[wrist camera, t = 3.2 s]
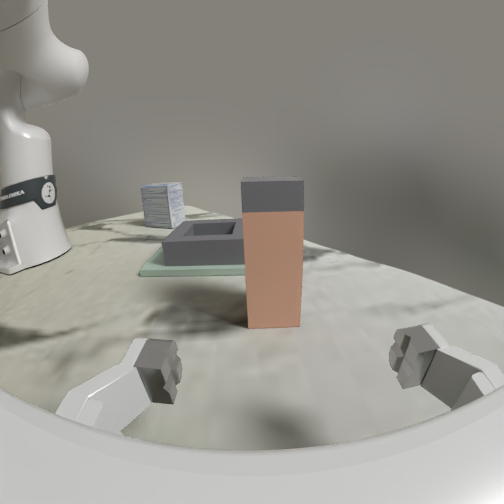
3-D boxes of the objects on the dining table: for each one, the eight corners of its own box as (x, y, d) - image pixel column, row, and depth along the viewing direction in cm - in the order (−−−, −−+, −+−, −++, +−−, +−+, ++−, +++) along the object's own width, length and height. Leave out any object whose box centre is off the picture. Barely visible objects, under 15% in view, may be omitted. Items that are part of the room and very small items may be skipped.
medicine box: (186, 223, 54) (182, 181, 51) (172, 229, 50) (167, 184, 47) (159, 222, 57) (154, 183, 54) (144, 227, 54) (140, 186, 51)
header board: (140, 276, 30) (135, 245, 29) (169, 244, 42) (166, 220, 40) (277, 273, 30) (277, 240, 29) (271, 240, 41) (271, 216, 40)
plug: (248, 328, 21) (240, 182, 17) (249, 302, 24) (243, 177, 21) (299, 326, 20) (303, 180, 17) (293, 301, 24) (294, 176, 20)
